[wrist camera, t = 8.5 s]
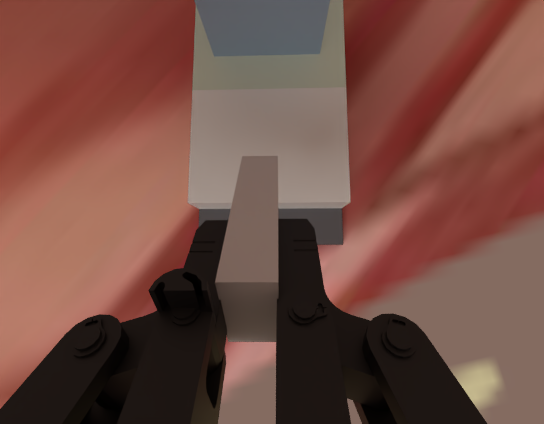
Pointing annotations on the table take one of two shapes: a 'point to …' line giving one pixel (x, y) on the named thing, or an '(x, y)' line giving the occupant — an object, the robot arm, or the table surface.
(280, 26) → the block
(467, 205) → the table surface
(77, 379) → the robot arm
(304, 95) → the trap deck
